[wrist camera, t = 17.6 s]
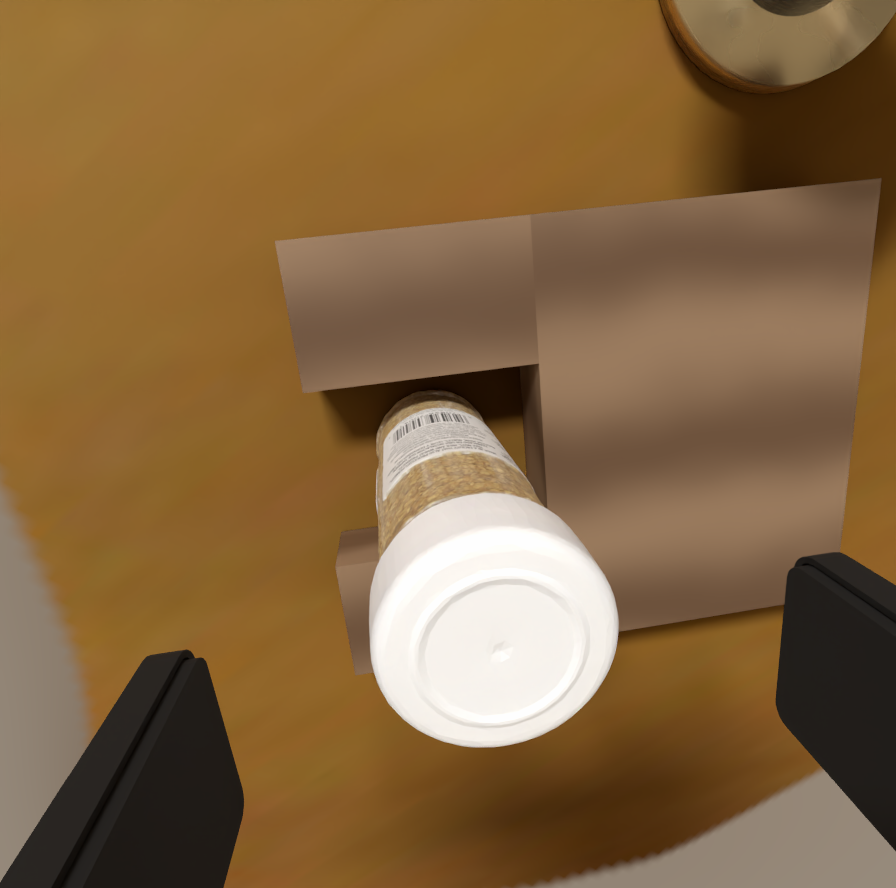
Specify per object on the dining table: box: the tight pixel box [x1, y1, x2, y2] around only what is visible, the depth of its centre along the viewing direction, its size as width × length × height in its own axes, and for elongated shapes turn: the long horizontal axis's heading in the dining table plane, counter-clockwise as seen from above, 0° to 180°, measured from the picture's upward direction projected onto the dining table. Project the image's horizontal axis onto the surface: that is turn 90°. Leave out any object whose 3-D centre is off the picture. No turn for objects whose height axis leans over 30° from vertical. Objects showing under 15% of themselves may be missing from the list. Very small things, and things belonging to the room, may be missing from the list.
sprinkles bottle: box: [369, 390, 619, 747], centre depth 16 cm, size 5×5×14 cm
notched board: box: [275, 178, 882, 675], centre depth 21 cm, size 16×20×3 cm
